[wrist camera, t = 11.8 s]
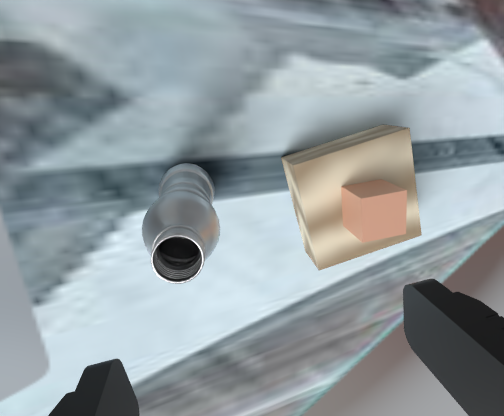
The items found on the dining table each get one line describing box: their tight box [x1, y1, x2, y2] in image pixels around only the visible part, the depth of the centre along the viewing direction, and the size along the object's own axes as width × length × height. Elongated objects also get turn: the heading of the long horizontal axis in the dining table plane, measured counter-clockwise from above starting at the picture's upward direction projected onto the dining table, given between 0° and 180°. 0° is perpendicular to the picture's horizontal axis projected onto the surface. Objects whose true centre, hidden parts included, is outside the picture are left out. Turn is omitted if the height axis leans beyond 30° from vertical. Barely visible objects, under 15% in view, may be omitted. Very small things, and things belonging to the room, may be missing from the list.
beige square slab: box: [281, 125, 421, 270], centre depth 42 cm, size 14×14×6 cm
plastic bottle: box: [142, 163, 220, 284], centre depth 31 cm, size 6×7×20 cm
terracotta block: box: [341, 179, 407, 243], centre depth 36 cm, size 5×5×5 cm
